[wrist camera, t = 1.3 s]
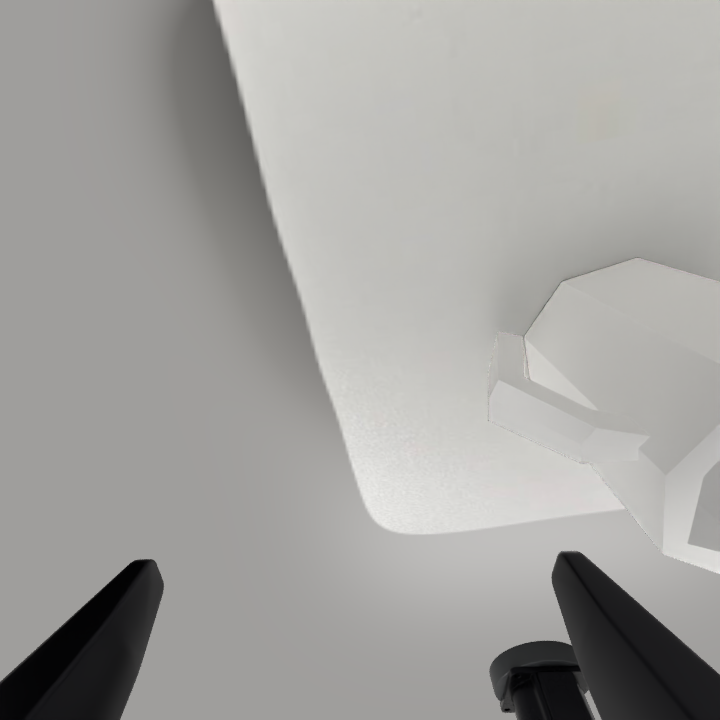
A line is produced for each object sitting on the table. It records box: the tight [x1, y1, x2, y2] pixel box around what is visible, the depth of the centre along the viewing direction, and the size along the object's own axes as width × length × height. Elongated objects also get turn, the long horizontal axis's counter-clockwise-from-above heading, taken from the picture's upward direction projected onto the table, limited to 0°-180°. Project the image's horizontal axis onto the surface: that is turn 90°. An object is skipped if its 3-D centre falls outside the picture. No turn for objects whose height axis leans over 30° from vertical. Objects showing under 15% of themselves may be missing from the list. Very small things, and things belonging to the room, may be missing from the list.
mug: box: [488, 257, 720, 574], centre depth 15 cm, size 12×9×10 cm
